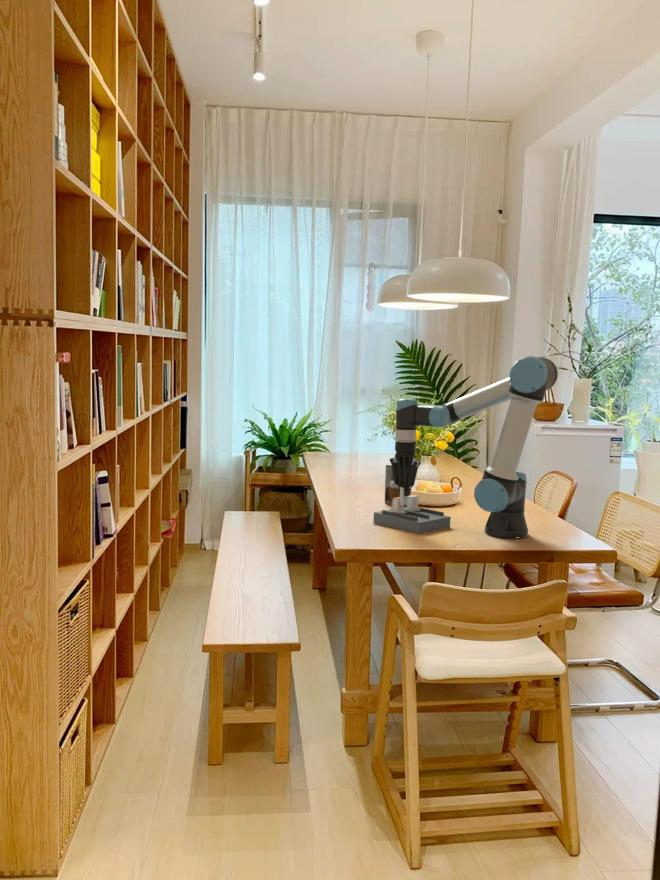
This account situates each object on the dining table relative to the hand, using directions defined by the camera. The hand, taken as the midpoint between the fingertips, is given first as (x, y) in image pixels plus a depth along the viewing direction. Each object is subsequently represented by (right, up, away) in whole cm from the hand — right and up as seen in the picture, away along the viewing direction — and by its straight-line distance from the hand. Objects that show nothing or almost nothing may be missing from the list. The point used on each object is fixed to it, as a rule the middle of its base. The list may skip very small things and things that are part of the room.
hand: (403, 504), depth 278 cm
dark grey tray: (+3, -8, +3) cm, 9 cm away
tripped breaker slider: (-2, -3, +2) cm, 4 cm away
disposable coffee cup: (+1, -5, +29) cm, 29 cm away
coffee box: (+1, -4, +46) cm, 47 cm away
